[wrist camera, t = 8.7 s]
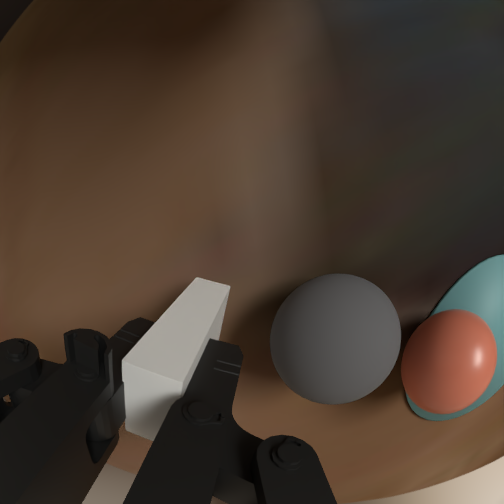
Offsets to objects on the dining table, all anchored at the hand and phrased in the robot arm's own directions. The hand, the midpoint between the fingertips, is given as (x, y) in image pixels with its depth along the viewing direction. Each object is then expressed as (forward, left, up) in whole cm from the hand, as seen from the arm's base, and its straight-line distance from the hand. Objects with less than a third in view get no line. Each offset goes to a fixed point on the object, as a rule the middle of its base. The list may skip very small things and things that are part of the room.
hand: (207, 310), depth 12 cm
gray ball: (+5, +2, +1) cm, 6 cm away
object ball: (+12, +4, +1) cm, 12 cm away
